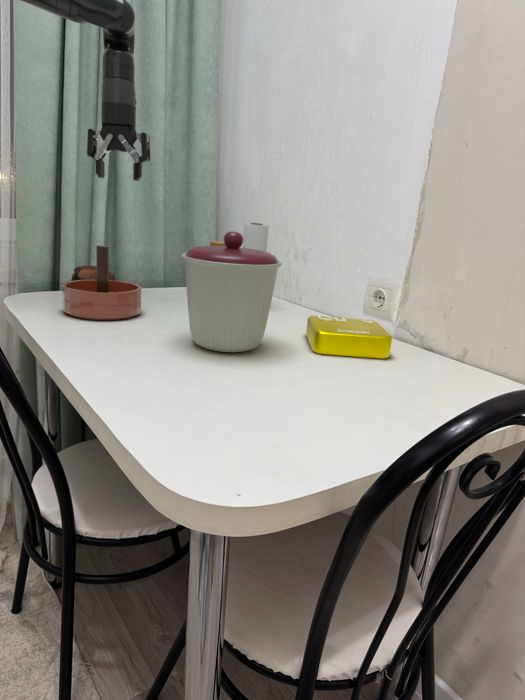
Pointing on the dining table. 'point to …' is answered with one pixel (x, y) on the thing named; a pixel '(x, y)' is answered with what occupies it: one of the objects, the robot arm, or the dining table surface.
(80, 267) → the pottery mug
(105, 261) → the stirring stick
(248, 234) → the paper towel roll
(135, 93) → the robot arm
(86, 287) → the bowl
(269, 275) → the canister
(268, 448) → the dining table surface
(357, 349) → the element tile
